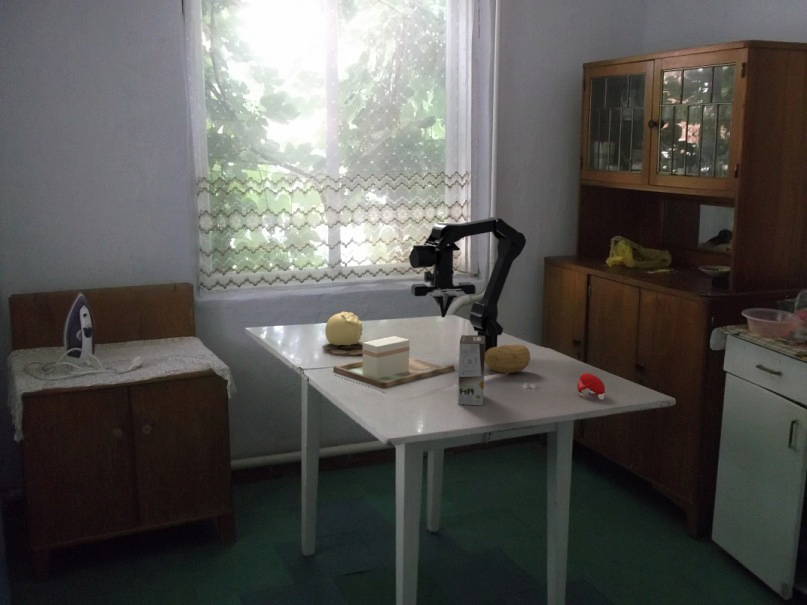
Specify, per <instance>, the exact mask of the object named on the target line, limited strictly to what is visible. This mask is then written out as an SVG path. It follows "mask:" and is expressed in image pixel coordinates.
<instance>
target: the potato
mask: <svg viewBox="0 0 807 605" xmlns="http://www.w3.org/2000/svg"><path fill="white" fill-rule="evenodd" d="M530 360H531V353H530V350H529V349H528V347H527V346H526V345H523V344H504V345H499V346H498V345H497V347H493V348H490V349H489V350H487V352H486V353H485V364H486V365H487V367H488V368H490V369H491V370H492V371H494V372H496V373H497V374H501V373H510V374H513V373H516V372H519V371H521V370H525V368H526V367H527V366H528V365H529V363H530ZM486 365H485V366H486Z"/></svg>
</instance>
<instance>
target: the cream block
mask: <svg viewBox="0 0 807 605" xmlns="http://www.w3.org/2000/svg"><path fill="white" fill-rule="evenodd" d="M361 351H362V360H363V374H364V375H367V376H370V377H373V378H376V379H378V378H382V377H386V376H390V375H394V374H398V373H403V372H407V371H409V357H410V339H408V338H403V337H399V336H396V335H393V336H389V337H385V338H378V339H372V340H369V341H365V342H362V350H361Z"/></svg>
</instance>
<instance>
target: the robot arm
mask: <svg viewBox="0 0 807 605" xmlns="http://www.w3.org/2000/svg"><path fill="white" fill-rule="evenodd" d="M486 233H487V234H488V233H491V234H492V236H493V237H494V238H495V239H496V240H497V245H496V246H497V248H496V249H497V259H496V260H495V263H494V266H493V269H492V272H491V274H490V276H489V279H488V283H487V285H486V288H485V290H484V293H483V296H482V298H481V299H480V300H479V301H478V302H475V301H474V302H473V303H472V306H471V310H470V312H468V314H469V318H468V319H469V322H470V324H471V326H472V328H473V331H475V332H477V334H476V335H478V336H485V353H486V352H487V350H489V349H490V348H493V347H498V339H499V338H498V336H502V333H503V331H504V327H503V326H501V325H502V324H500V323H499V322H498V321H497V320H498V316H499V311H498V303H499V300H500V297H501V295H502V292H503V290H504V287H505V284H506V281H507V278H508V276H509V274H510V273H509V272H510V271H511V267H512V264H513V263H514V261H515V260H516V259H517V258H518V257H519V256H520V255H521V254H522V252H523V250H524V248H525V247H526V243H527V239H526V236H525V235H524V233H523V232H519V231H518V230H517V229H515V228H514V227H513V226H510V225H509V224H508V223H507V222H505V220H504V219H502V218H499V217H495V216H494V217H493V216H491V217H490V218H484V219H479V220H474V221H468V222H463V223H446V222H437V223H436V224H434V225H433V227H432V229H431V231H430V234H429V236H428V237H427V238H426V240H425V241H424V244H421V245H420V244H414V245H413V246H412V249H411V251H410V254H409V257H408V258H409V259H408V260H409V263H410V266H411V267H412V268H413V269H424V268H432V267H433V271H429V270H428V271H424V273H423V281H424V283H412V284H411V287H410V293H411V294H412V295H413V296H414V297H426V296H427V295H428V294H429V296H430V297H431V298H433V299H434V300H435V302H436V305H437V307H438V310H439V313H440V317H441V318H445V317H446V315H447V313H448V311H449V308H450V306H451V304H452V302H453V301H454V299H455V298H458V295H457V292H462V293H464V294H465V295H476V293H477V288H476V285H475V284H474V283H472V282H470V281H462V282H458V285H456V284H454V274H455V273H454V251H455V252H456V251H457V252H458V251H461V249H460V247H459V246H458V245H457V244H456V243H457V242H459V241H461V240H462V239H464V238H466V237H472V236H476V235H482V234H486ZM426 283H430V284H429V285H430V286H427V285H426Z"/></svg>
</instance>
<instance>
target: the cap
mask: <svg viewBox="0 0 807 605" xmlns="http://www.w3.org/2000/svg"><path fill="white" fill-rule="evenodd" d="M576 388H577V392H578V393H579V392H580V393H582V394H583V392H582V391H584V390H587V389H588V390H589V391H590V390H591V391H593V392H595V393H594V394H595V396H596V395H599V394H603V393H605V394H606V391H605V390H606V387H605V384H604V382H603V381H602V379H600V377H598V376H597V375H594V374H592V373H589V372H588V373H587V372H586V373H582V374H580V375H579V380H578V382H577V386H576Z"/></svg>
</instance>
